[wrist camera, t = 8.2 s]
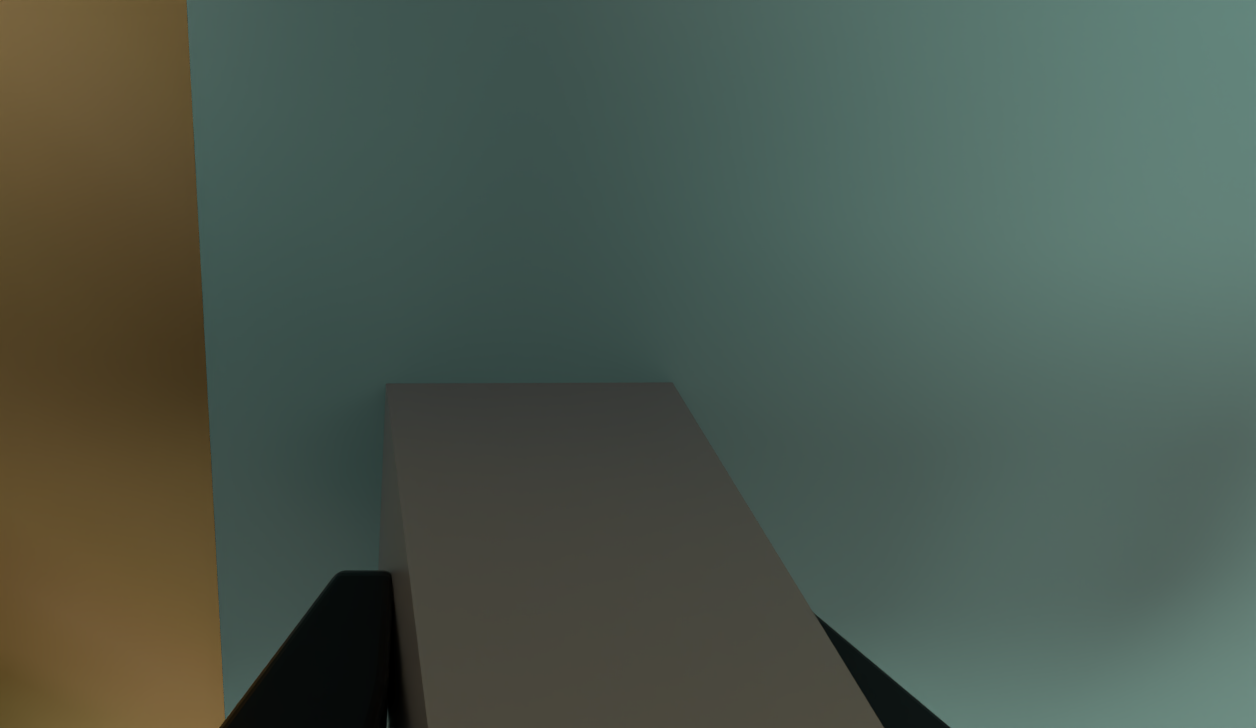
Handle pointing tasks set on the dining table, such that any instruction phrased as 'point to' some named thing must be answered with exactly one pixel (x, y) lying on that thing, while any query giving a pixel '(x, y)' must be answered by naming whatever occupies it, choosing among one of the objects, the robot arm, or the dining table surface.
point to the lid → (739, 352)
